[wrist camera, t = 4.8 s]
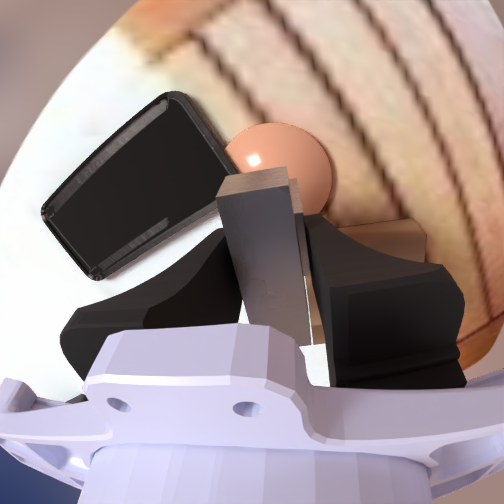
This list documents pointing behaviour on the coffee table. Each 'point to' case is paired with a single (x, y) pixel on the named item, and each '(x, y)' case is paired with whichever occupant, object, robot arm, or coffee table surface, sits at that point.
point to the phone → (139, 186)
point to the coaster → (285, 159)
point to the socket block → (380, 239)
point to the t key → (268, 248)
